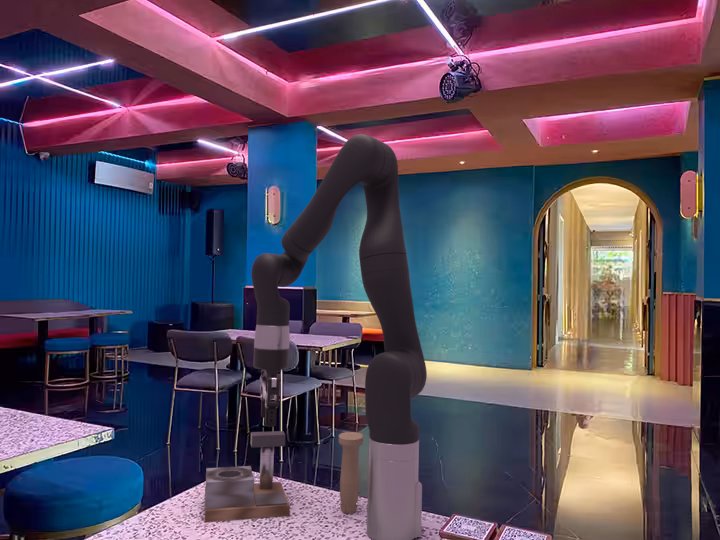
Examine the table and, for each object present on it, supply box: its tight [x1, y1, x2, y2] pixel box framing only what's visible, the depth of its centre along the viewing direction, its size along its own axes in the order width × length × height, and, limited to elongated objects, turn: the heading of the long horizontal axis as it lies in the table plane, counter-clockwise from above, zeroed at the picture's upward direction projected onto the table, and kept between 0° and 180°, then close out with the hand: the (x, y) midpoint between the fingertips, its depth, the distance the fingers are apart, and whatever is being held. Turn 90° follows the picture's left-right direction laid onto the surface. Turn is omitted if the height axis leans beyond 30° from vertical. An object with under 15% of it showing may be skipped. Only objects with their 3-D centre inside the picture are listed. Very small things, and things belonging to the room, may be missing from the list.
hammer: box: [250, 430, 286, 490], centre depth 118 cm, size 7×3×11 cm, turn 106°
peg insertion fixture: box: [204, 465, 291, 523], centre depth 113 cm, size 16×14×7 cm
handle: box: [338, 431, 364, 514], centre depth 112 cm, size 5×6×15 cm
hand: (268, 421), depth 119 cm, fingers open, 8 cm apart
